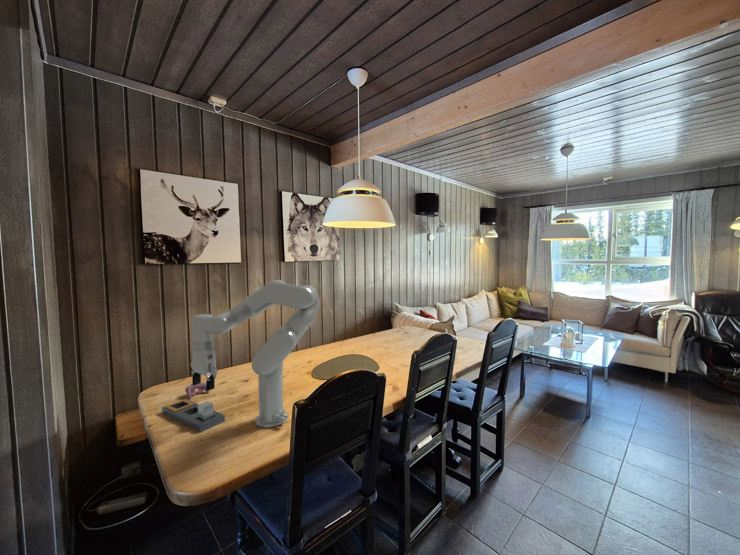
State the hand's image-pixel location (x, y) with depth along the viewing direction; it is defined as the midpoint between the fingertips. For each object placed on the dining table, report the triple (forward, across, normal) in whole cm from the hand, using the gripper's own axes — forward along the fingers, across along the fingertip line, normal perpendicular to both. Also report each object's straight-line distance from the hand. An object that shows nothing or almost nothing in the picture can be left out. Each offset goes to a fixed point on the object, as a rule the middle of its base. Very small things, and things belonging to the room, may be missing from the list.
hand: (203, 386), depth 125 cm
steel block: (+15, -1, -1) cm, 15 cm away
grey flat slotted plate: (+15, +9, -1) cm, 18 cm away
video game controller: (+16, +30, -14) cm, 37 cm away
